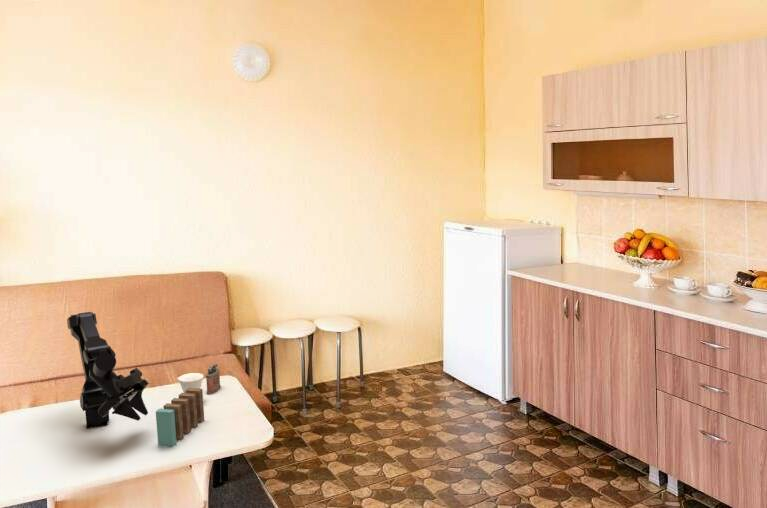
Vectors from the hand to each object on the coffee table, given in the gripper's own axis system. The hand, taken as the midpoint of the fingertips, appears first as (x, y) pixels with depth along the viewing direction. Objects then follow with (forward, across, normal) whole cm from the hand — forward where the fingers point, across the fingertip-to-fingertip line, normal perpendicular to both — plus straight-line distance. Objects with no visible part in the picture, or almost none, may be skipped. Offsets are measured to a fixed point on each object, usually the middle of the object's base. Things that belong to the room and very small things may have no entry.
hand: (143, 416), depth 185 cm
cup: (+5, +33, +8) cm, 34 cm away
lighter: (+6, +45, +6) cm, 46 cm away
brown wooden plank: (+11, +13, +1) cm, 18 cm away
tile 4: (+11, +4, +1) cm, 12 cm away
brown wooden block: (+11, +9, +1) cm, 14 cm away
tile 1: (+11, +18, +1) cm, 21 cm away
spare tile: (+11, 0, +1) cm, 11 cm away
